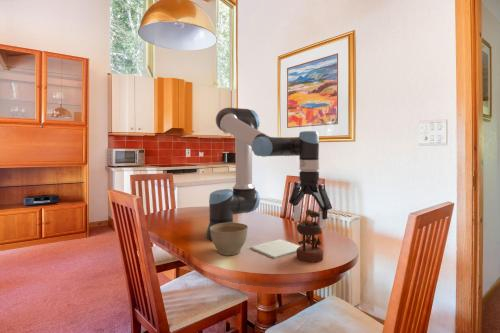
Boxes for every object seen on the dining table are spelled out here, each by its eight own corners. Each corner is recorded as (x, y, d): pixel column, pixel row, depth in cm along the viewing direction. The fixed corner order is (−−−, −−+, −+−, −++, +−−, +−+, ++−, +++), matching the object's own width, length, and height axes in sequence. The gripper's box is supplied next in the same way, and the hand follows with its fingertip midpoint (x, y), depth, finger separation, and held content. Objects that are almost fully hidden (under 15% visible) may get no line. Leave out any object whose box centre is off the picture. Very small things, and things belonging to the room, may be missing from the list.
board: (250, 248, 132) (250, 246, 132) (280, 240, 143) (280, 239, 143) (274, 258, 119) (274, 256, 119) (305, 249, 130) (305, 247, 130)
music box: (308, 250, 129) (311, 205, 127) (330, 259, 121) (334, 211, 118) (284, 259, 119) (288, 210, 116) (307, 269, 111) (311, 217, 108)
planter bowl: (232, 243, 139) (232, 220, 138) (255, 252, 127) (255, 227, 126) (202, 251, 128) (202, 226, 128) (225, 261, 116) (225, 234, 116)
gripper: (280, 169, 125) (280, 220, 126) (328, 172, 105) (328, 232, 106) (293, 169, 130) (293, 217, 131) (341, 171, 110) (341, 228, 111)
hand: (309, 224), depth 118 cm, fingers open, 13 cm apart
